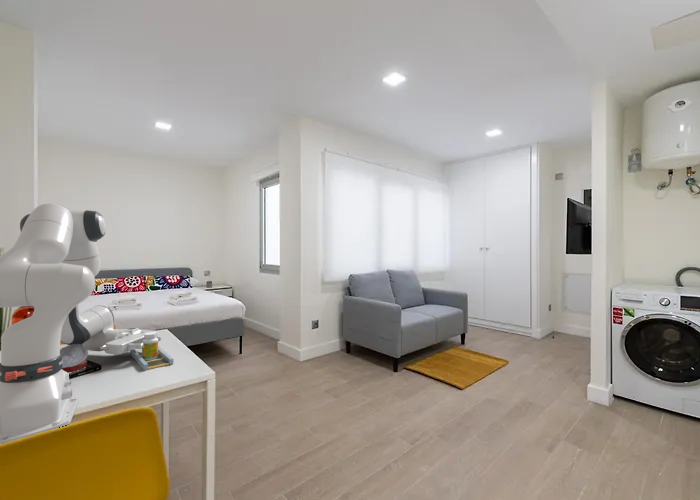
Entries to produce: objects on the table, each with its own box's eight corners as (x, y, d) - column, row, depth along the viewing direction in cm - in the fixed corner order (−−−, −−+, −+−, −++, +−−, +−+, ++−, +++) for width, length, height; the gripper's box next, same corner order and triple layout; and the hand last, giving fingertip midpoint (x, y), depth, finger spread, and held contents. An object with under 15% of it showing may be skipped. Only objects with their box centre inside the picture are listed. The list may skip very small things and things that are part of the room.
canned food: (87, 380, 117) (101, 356, 117) (57, 388, 107) (72, 362, 107) (66, 362, 119) (80, 338, 119) (35, 369, 109) (50, 343, 109)
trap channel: (173, 364, 121) (173, 358, 121) (144, 370, 115) (144, 364, 115) (156, 348, 138) (156, 344, 138) (129, 353, 132) (129, 348, 132)
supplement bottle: (144, 361, 124) (144, 336, 123) (140, 358, 127) (140, 333, 127) (160, 358, 127) (160, 333, 127) (155, 354, 131) (155, 330, 131)
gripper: (95, 340, 118) (131, 342, 117) (138, 326, 139) (168, 328, 137) (95, 357, 118) (130, 359, 117) (138, 341, 139) (168, 343, 137)
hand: (151, 342), depth 127 cm, fingers open, 8 cm apart
